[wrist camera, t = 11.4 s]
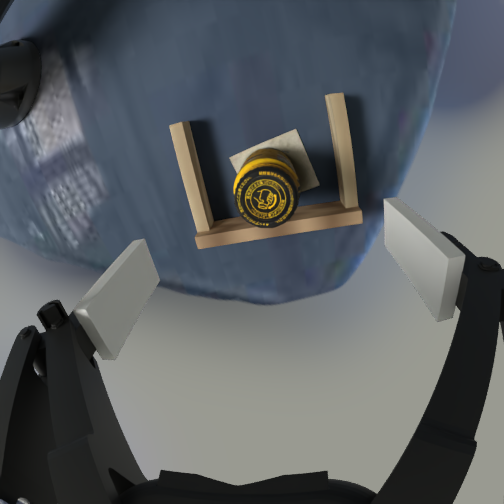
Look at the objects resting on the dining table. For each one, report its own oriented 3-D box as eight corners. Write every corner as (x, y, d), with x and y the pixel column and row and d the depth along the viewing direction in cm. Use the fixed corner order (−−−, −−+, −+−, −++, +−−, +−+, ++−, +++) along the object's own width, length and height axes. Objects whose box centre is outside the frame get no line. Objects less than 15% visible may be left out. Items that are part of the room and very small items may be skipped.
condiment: (229, 157, 33) (209, 179, 23) (295, 128, 31) (309, 135, 21) (255, 210, 36) (248, 254, 25) (319, 184, 34) (341, 218, 23)
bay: (205, 233, 38) (198, 249, 34) (177, 124, 32) (164, 126, 28) (352, 210, 35) (362, 223, 31) (337, 94, 29) (346, 91, 25)
